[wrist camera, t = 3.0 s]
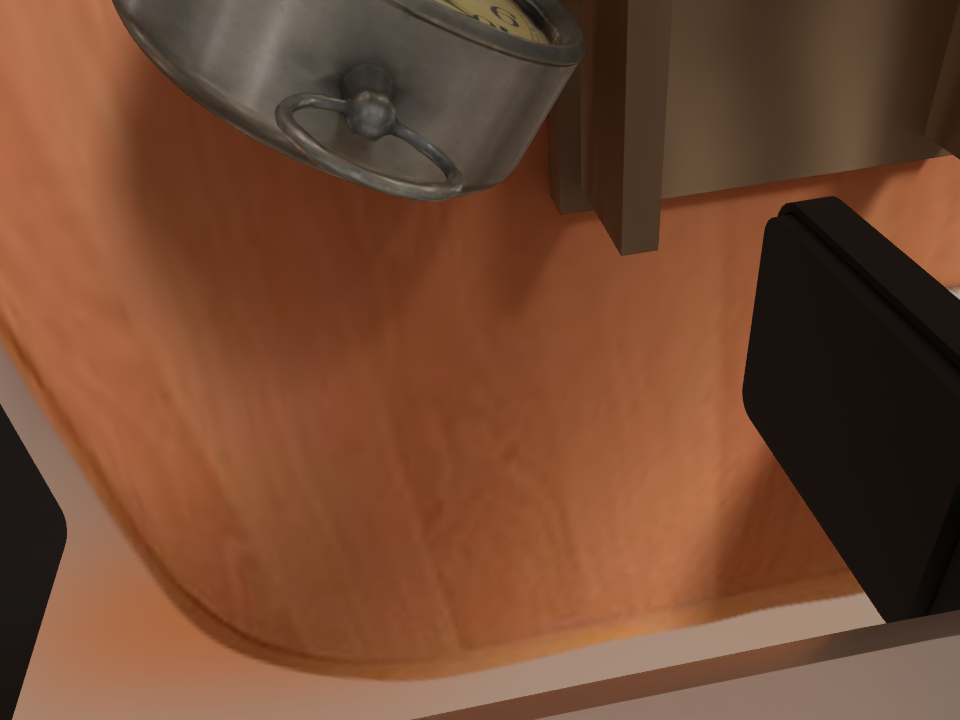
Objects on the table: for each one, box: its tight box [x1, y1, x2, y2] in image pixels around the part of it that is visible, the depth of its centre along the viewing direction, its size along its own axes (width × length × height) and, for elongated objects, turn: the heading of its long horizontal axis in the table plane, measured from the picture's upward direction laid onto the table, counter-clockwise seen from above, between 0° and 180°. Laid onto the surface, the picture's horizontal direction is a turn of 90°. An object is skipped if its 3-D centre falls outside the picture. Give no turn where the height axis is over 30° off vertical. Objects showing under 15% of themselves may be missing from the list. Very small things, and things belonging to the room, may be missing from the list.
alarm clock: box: [112, 0, 586, 202], centre depth 19 cm, size 11×5×16 cm, turn 62°
